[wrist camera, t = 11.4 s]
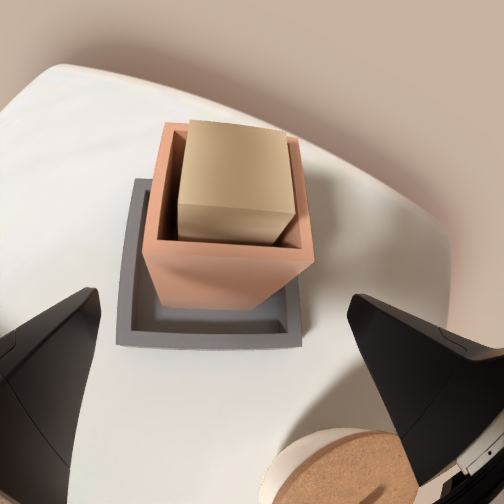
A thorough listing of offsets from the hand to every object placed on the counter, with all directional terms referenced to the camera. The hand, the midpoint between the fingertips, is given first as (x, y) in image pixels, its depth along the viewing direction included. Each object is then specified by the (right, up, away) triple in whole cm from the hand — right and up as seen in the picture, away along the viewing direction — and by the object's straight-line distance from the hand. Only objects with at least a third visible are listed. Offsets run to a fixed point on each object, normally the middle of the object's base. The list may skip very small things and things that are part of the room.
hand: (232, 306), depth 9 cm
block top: (-1, +4, +5) cm, 6 cm away
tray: (-3, +1, +13) cm, 13 cm away
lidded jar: (+5, -16, +9) cm, 19 cm away
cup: (-3, +1, +12) cm, 13 cm away
